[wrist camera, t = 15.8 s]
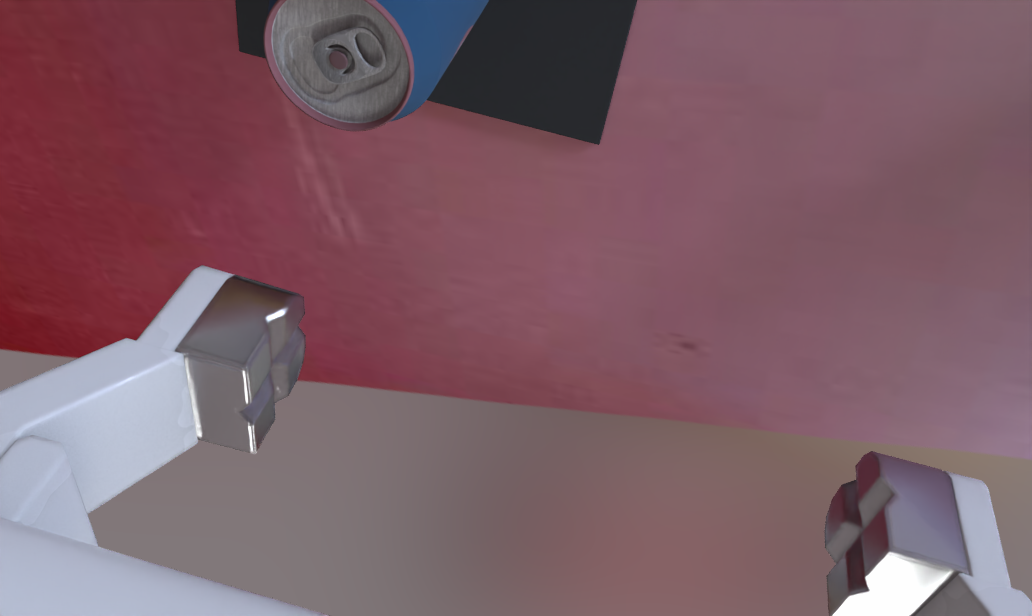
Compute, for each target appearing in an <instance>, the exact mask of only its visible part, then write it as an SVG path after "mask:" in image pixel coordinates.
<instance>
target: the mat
mask: <svg viewBox="0 0 1032 616" xmlns="http://www.w3.org/2000/svg"><path fill="white" fill-rule="evenodd" d="M269 1H270V0H236V12H237V25H238V38H239V51H240V52H244V53H248V54H251V55H255V56H259V57H263V58H266V56H265V51H264V38H263V37H264V27H265V23H266V19H267V17H268V7H269ZM636 2H637V0H489V1H488V3H487V5H486V6H485V8H484V10H483V11H482V13H481V14H480V16H479V18H478V19H477V21H476V22H475V24H474V26H473V27H472V29H471V30H470V32H469V34H468V35H467V37H466V38H465V40H464V42H463V43H462V45H461V46H460V48H459V50H458V51H457V53H456V54H455V56H454V58H453V59H452V61H451V62H450V64H449V66H448V67H447V69H446V71H445V72H444V74H443V75H442V77H441V79H440V80H439V82H438V83H437V85H436V87H435V88H434V90H433V91H432V93H431V94H430V96H429V97H428V99H427V100H429V101H432V102H436V103H440V104H444V105H448V106H452V107H455V108H459V109H463V110H467V111H471V112H475V113H479V114H482V115H486V116H490V117H494V118H498V119H502V120H506V121H509V122H513V123H517V124H521V125H525V126H529V127H532V128H536V129H540V130H544V131H548V132H552V133H556V134H559V135H563V136H567V137H571V138H575V139H579V140H583V141H586V142H590V143H594V144H598V145H599V144H600V140H601V136H602V132H603V128H604V125H605V121H606V117H607V113H608V109H609V106H610V102H611V98H612V94H613V90H614V86H615V83H616V79H617V75H618V71H619V67H620V64H621V60H622V56H623V52H624V48H625V44H626V41H627V37H628V33H629V29H630V25H631V22H632V18H633V14H634V10H635V6H636Z"/></svg>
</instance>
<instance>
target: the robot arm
mask: <svg viewBox="0 0 1032 616" xmlns="http://www.w3.org/2000/svg"><path fill="white" fill-rule="evenodd" d="M304 315H305V306H304V297H303V296H301V295H300V294H298V293H294V292H291V291H288V290H284V289H281V288H278V287H274V286H271V285H268V284H265V283H261V282H258V281H255V280H251V279H248V278H245V277H241V276H238V275H233V274H230V273H226V272H223V271H220V270H216V269H213V268H210V267H206V266H203V265H202V266H200V267H198V268H196V269H194V270H193V271H191V273H190V274H189V275H188V276H187V278H186V279H185V280H184V281H183V283H182V284H181V285H180V286H179V288H178V289H177V290H176V291H175V293H174V294H173V295H172V296H171V298H170V299H169V300H168V301H167V303H166V304H165V305H164V306H163V308H162V309H161V310H160V311H159V312H158V314H157V315H156V316H155V317H154V319H153V320H152V321H151V322H150V324H149V325H148V326H147V327H146V329H145V330H144V331H143V332H142V334H141V335H140V336H139V337H138V339H137V340H132V339H128V338H125V339H123V340H120V341H118V342H116V343H113V344H111V345H108V346H106V347H104V348H101V349H99V350H97V351H94V352H92V353H89V354H87V355H85V356H82V357H80V358H78V359H75V360H73V361H71V362H68V363H66V364H63V365H61V366H59V367H56V368H54V369H51V370H49V371H47V372H44V373H42V374H40V375H37V376H35V377H32V378H30V379H28V380H26V381H23V382H21V383H18V384H16V385H13V386H11V387H9V388H6V389H4V390H2V391H0V616H330V615H326V614H323V613H320V612H317V611H313V610H310V609H306V608H303V607H300V606H296V605H293V604H289V603H286V602H283V601H279V600H276V599H273V598H269V597H266V596H263V595H259V594H256V593H252V592H249V591H246V590H242V589H239V588H236V587H232V586H229V585H226V584H222V583H219V582H216V581H212V580H209V579H205V578H202V577H199V576H195V575H192V574H189V573H185V572H182V571H178V570H175V569H172V568H168V567H165V566H162V565H158V564H155V563H151V562H148V561H145V560H141V559H138V558H135V557H131V556H128V555H125V554H121V553H118V552H114V551H111V550H108V549H104V548H101V547H99V546H98V542H97V540H96V537H95V534H94V531H93V529H92V526H91V523H90V520H89V517H88V513H90V512H92V511H93V510H95V509H96V508H98V507H99V506H101V505H102V504H104V503H105V502H107V501H108V500H110V499H112V498H113V497H115V496H116V495H118V494H119V493H121V492H123V491H124V490H126V489H127V488H129V487H130V486H132V485H133V484H135V483H137V482H138V481H140V480H141V479H143V478H144V477H146V476H147V475H149V474H151V473H152V472H154V471H155V470H157V469H158V468H160V467H161V466H163V465H165V464H166V463H168V462H169V461H171V460H172V459H174V458H175V457H177V456H179V455H180V454H182V453H183V452H185V451H186V450H188V449H189V448H191V447H193V446H194V445H196V444H197V443H198V440H202V441H206V442H209V443H213V444H217V445H221V446H225V447H229V448H233V449H236V450H240V451H245V452H248V453H252V454H256V452H257V450H258V448H259V446H260V444H261V443H262V441H263V440H264V438H265V436H266V434H267V433H268V431H269V429H270V427H271V426H272V424H273V422H274V420H275V403H276V402H277V401H279V400H281V399H283V398H285V397H287V396H289V394H290V392H291V390H292V388H293V387H294V385H295V383H296V381H297V378H298V376H299V373H300V370H301V367H302V364H303V360H304V354H305V348H306V341H305V334H304V333H303V332H302V330H301V329H300V328H299V326H298V325H299V323H300V321H301V320H302V318H303V316H304ZM825 548H826V550H827V551H828V553H829V554H830V556H831V557H832V558H833V560H834V562H835V563H836V565H835V566H834V568H833V569H832V570H831V571H830V572H829V574H828V575H827V592H828V609H829V616H1032V602H1031V601H1030V600H1029V598H1028V597H1027V596H1026V595H1025V594H1024V592H1023V591H1020V590H1017V589H1014V588H1011V583H1010V579H1009V575H1008V571H1007V566H1006V562H1005V558H1004V554H1003V549H1002V545H1001V541H1000V537H999V532H998V528H997V524H996V520H995V516H994V511H993V507H992V503H991V498H990V494H989V490H988V488H987V486H986V485H985V484H984V482H983V481H981V480H977V479H973V478H970V477H966V476H962V475H958V474H955V473H951V472H947V471H942V470H940V469H937V468H933V467H930V466H926V465H922V464H918V463H914V462H910V461H907V460H903V459H899V458H896V457H892V456H888V455H884V454H880V453H876V452H873V451H871V452H869V453H867V454H865V455H864V456H863V457H862V458H861V460H860V461H859V462H858V464H857V465H856V480H854V481H851V482H848V483H846V484H843V485H841V487H840V488H839V490H838V491H837V493H836V494H835V496H834V497H833V499H832V501H831V504H830V508H829V511H828V513H827V516H826V524H825Z"/></svg>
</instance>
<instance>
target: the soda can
mask: <svg viewBox="0 0 1032 616" xmlns="http://www.w3.org/2000/svg"><path fill="white" fill-rule="evenodd" d="M488 1H489V0H270V1H269V7H268V17H267V19H266V23H265V27H264V37H263V38H264V51H265V56H266V60H267V63H268V66H269V69H270V71H271V73H272V75H273V77H274V79H275V81H276V83H277V84H278V86H279V87H280V89H281V90H282V91H283V93H284V94H285V95H286V96H287V97H288V99H289V100H290V101H291V102H292V103H293V104H294V105H295V106H297V107H298V108H299V109H300V110H301V111H303V112H304V113H305V114H307V115H308V116H310V117H311V118H313V119H315V120H317V121H319V122H321V123H323V124H325V125H328V126H330V127H333V128H337V129H341V130H346V131H366V130H371V129H374V128H377V127H380V126H382V125H384V124H386V123H388V122H390V121H394V120H397V119H400V118H402V117H405V116H407V115H408V114H410V113H412V112H413V111H415V110H416V109H418V108H419V107H420V106H421V105H422V104H423V103H424V102H425V101H426V100H427V99H428V97H429V96H430V94H431V93H432V91H433V90H434V88H435V87H436V85H437V83H438V82H439V80H440V79H441V77H442V75H443V74H444V72H445V71H446V69H447V67H448V66H449V64H450V62H451V61H452V59H453V58H454V56H455V54H456V53H457V51H458V50H459V48H460V46H461V45H462V43H463V42H464V40H465V38H466V37H467V35H468V34H469V32H470V30H471V29H472V27H473V26H474V24H475V22H476V21H477V19H478V18H479V16H480V14H481V13H482V11H483V10H484V8H485V6H486V5H487V3H488Z"/></svg>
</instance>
